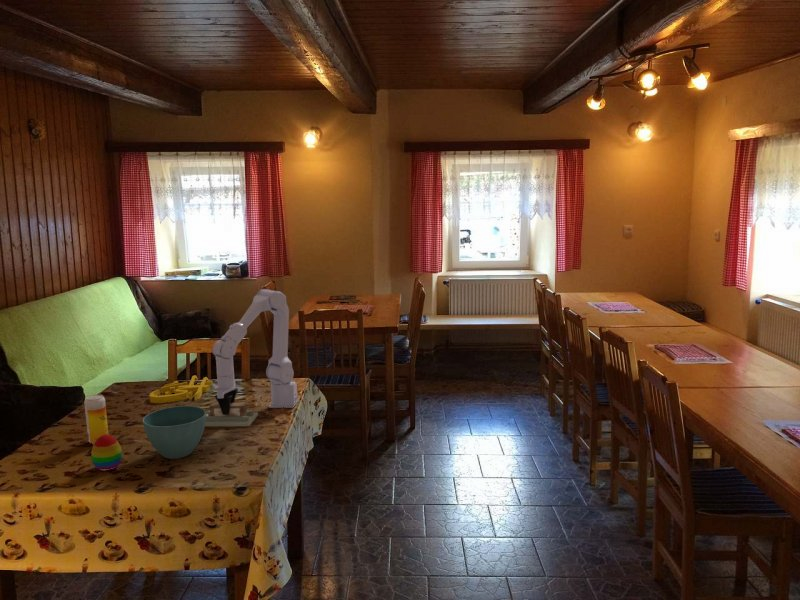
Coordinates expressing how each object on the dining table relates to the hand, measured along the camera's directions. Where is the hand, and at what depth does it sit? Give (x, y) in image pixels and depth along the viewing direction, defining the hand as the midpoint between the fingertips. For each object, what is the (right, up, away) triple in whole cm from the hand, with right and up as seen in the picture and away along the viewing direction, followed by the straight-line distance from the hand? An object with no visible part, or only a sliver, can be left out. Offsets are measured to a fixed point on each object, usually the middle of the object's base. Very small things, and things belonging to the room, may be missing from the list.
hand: (228, 411), depth 227 cm
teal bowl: (-8, -8, -28) cm, 30 cm away
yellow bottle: (-38, -7, -16) cm, 42 cm away
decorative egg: (-26, -10, -37) cm, 46 cm away
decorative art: (-28, +2, +37) cm, 46 cm away
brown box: (0, -2, 0) cm, 2 cm away
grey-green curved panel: (0, -3, +1) cm, 3 cm away
